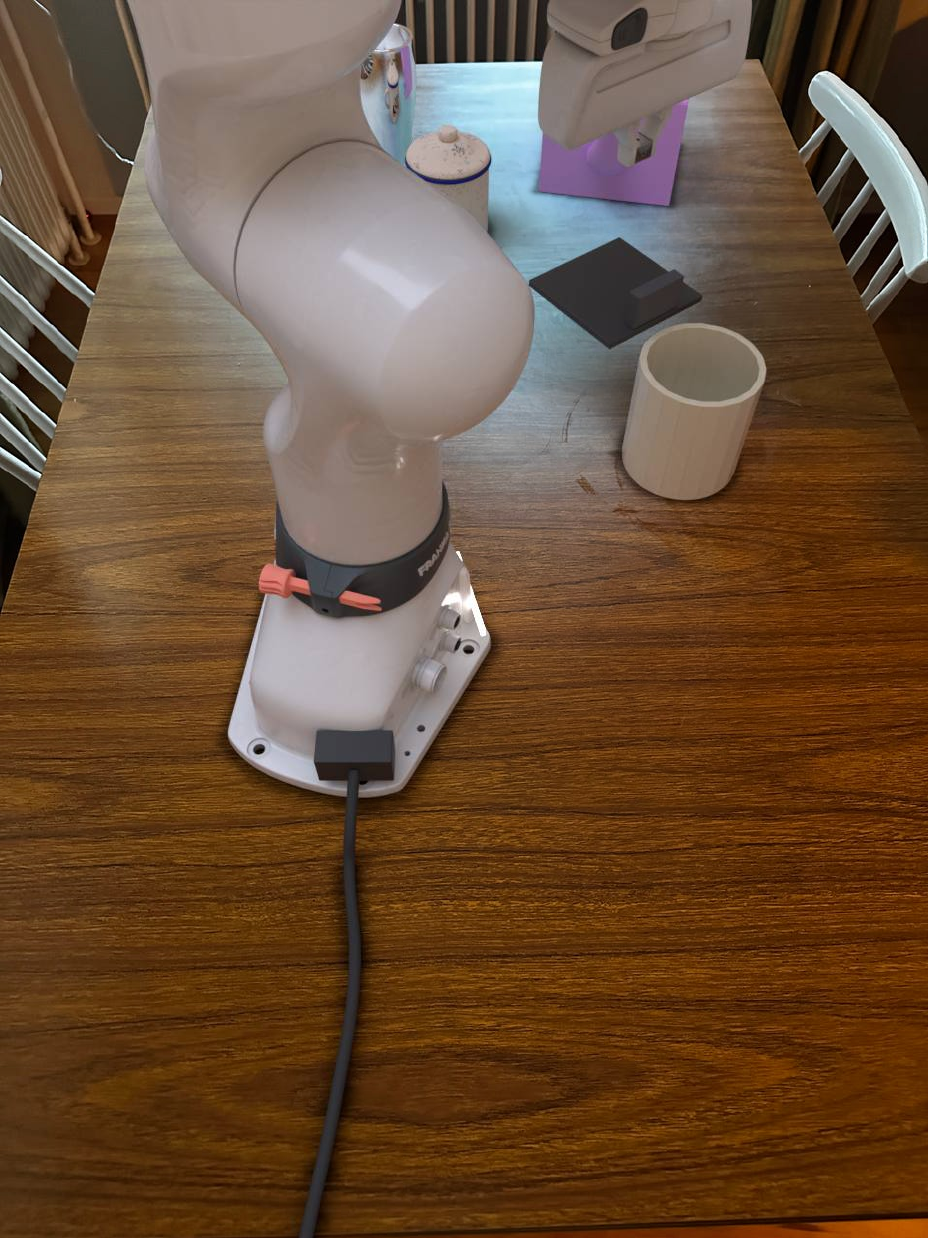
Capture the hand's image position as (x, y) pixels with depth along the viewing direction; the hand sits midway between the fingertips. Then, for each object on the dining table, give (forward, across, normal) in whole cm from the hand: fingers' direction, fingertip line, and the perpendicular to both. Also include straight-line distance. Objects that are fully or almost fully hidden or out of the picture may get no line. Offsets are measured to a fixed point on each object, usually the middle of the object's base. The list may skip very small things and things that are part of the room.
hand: (635, 159), depth 84 cm
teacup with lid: (+17, +6, -23) cm, 30 cm away
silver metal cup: (+17, +3, -37) cm, 41 cm away
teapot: (+18, -17, -21) cm, 32 cm away
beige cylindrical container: (+17, +8, +18) cm, 26 cm away
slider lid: (+6, +8, +7) cm, 12 cm away
